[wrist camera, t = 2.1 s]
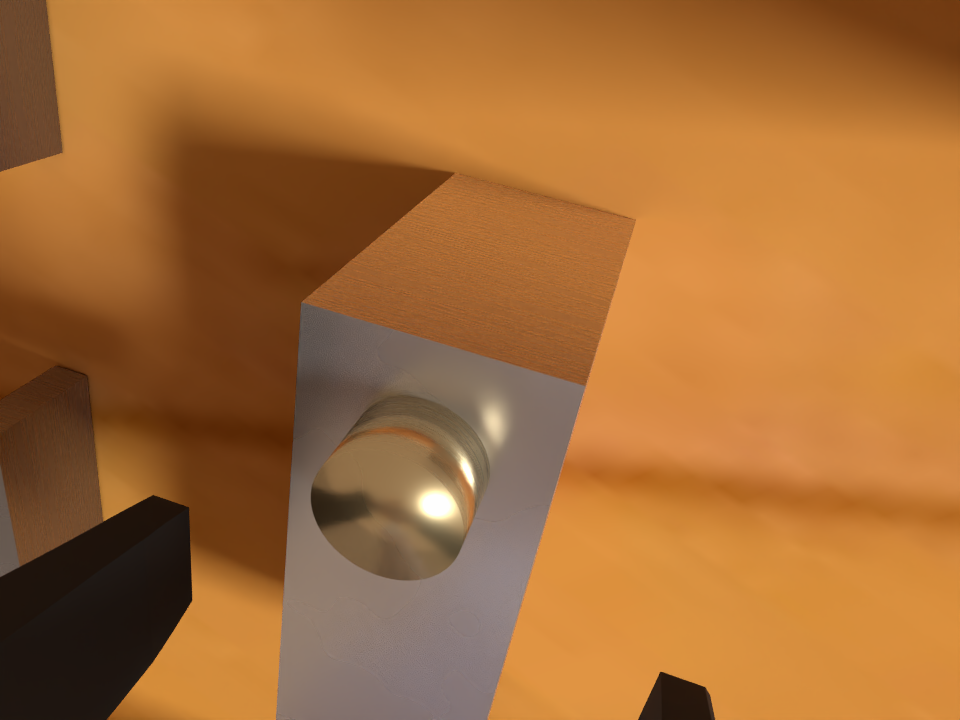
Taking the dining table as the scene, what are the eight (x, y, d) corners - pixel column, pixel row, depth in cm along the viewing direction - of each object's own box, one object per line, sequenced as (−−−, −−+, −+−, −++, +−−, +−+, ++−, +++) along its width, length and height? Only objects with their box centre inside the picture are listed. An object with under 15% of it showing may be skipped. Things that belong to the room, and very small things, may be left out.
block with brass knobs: (504, 662, 18) (407, 987, 12) (384, 620, 18) (237, 915, 12) (636, 217, 12) (568, 443, 6) (458, 171, 12) (249, 344, 7)
